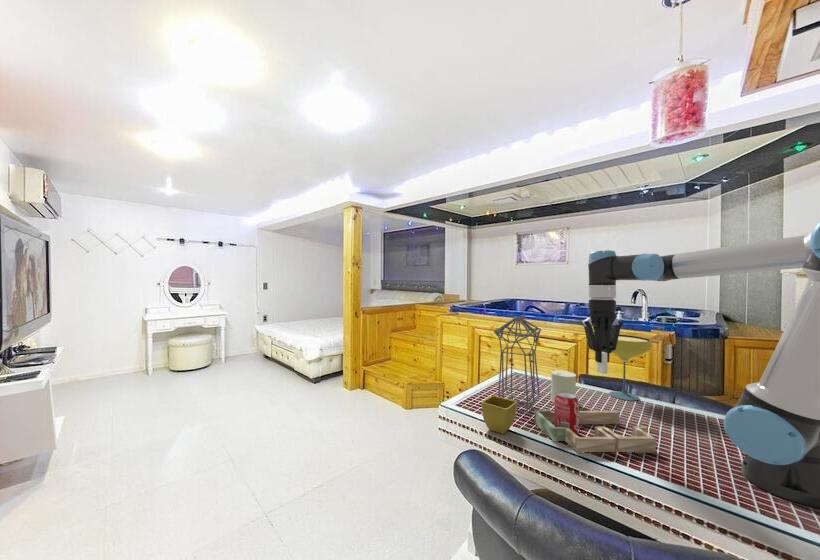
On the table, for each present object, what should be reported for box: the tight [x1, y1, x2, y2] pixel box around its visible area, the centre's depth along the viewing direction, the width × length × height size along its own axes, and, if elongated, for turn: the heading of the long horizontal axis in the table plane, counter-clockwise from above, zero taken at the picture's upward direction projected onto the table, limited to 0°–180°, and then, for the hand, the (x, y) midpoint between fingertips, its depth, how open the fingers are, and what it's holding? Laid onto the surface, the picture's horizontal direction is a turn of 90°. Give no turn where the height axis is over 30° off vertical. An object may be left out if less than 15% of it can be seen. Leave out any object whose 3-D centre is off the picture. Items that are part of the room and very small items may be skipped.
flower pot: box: [481, 395, 518, 434], centre depth 102 cm, size 9×9×9 cm
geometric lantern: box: [493, 316, 542, 414], centre depth 121 cm, size 16×16×35 cm
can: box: [550, 369, 577, 404], centre depth 127 cm, size 9×9×12 cm
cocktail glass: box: [608, 334, 652, 402], centre depth 134 cm, size 18×18×25 cm
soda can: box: [553, 391, 580, 435], centre depth 101 cm, size 7×7×12 cm
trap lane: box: [533, 409, 657, 454], centre depth 99 cm, size 19×29×4 cm, turn 93°
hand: (602, 372), depth 101 cm, fingers closed
